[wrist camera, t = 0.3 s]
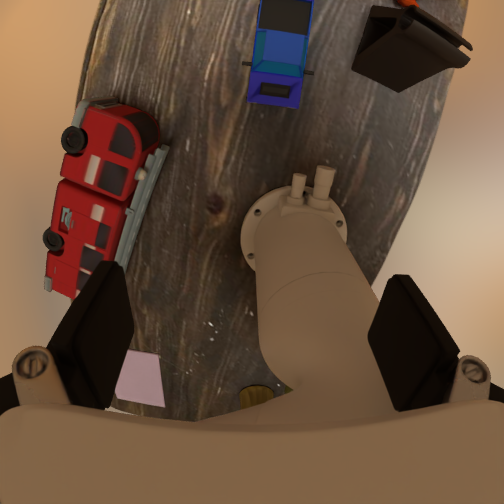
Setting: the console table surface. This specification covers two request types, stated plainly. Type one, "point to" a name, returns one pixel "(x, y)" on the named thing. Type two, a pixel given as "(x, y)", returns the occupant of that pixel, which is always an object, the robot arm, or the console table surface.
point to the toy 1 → (100, 190)
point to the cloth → (141, 379)
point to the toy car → (280, 52)
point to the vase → (255, 396)
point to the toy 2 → (407, 3)
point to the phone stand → (407, 47)
